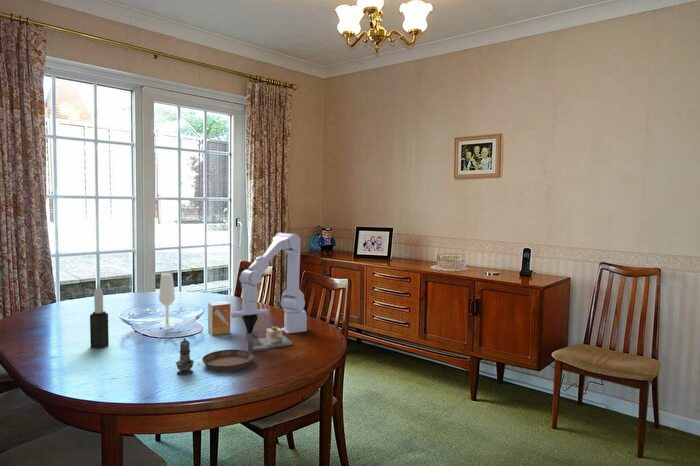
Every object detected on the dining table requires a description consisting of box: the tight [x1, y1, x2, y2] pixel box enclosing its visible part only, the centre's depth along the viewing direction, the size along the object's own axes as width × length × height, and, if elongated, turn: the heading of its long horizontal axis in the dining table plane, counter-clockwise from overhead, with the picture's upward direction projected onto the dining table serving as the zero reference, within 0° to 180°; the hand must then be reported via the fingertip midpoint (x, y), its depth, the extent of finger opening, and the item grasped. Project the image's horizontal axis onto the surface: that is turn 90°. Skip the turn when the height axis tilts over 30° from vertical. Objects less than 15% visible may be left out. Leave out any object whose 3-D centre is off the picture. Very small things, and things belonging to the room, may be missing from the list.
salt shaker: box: [175, 337, 195, 377], centre depth 161 cm, size 6×6×12 cm
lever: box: [252, 330, 259, 340], centre depth 190 cm, size 2×11×3 cm, turn 28°
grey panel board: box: [245, 331, 293, 353], centre depth 193 cm, size 19×12×7 cm, turn 118°
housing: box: [265, 326, 283, 343], centre depth 195 cm, size 5×5×6 cm
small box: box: [207, 300, 232, 336], centre depth 208 cm, size 8×6×13 cm
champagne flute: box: [158, 272, 176, 327], centre depth 214 cm, size 7×7×24 cm
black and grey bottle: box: [89, 282, 110, 350], centre depth 186 cm, size 5×5×25 cm
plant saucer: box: [201, 348, 254, 372], centre depth 171 cm, size 18×18×3 cm
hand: (249, 333), depth 192 cm, fingers closed, pressing on lever
